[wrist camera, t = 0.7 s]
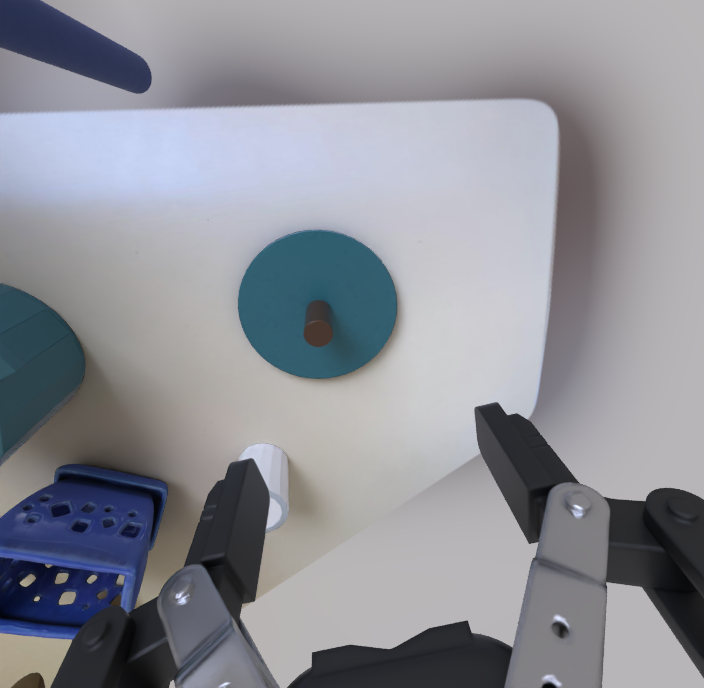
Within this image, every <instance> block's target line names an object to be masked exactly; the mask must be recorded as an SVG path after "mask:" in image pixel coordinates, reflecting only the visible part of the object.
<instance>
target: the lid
mask: <svg viewBox="0 0 704 688" xmlns="http://www.w3.org/2000/svg"><path fill="white" fill-rule="evenodd" d="M238 311H239V317H240V321H241V325H242V328H243V330H244V332H245V335H246V337H247V338H248V340H249V342H250V343H251V345H252V346H253V347H254V349H255V350H256V351H257V352H258V353H259V354H260V355H261V356H262V357H263V358H264V359H265V360H266V361H268V362H269V363H271V364H272V365H273V366H275V367H277V368H279V369H280V370H283V371H285V372H287V373H290V374H293V375H296V376H300V377H306V378H316V379H320V378H331V377H337V376H341V375H345V374H347V373H350V372H352V371H354V370H356V369H358V368H360V367H362V366H363V365H365V364H366V363H368V362H369V361H370V360H371V359H372V358H374V357H375V356H376V355H377V354H378V353H379V351H380V350H381V349H382V348H383V346H384V345H385V343H386V342H387V340H388V338H389V336H390V334H391V332H392V330H393V327H394V324H395V319H396V312H397V299H396V292H395V288H394V284H393V282H392V279H391V276H390V274H389V273H388V271H387V269H386V267H385V266H384V264H383V263H382V261H381V260H380V259H379V258H378V257H377V255H376V254H375V253H374V252H373V251H372V250H370V249H369V248H368V247H367V246H365V245H364V244H363V243H361V242H359V241H357V240H356V239H354V238H352V237H349V236H347V235H344V234H341V233H337V232H334V231H327V230H306V231H299V232H296V233H292V234H289V235H286V236H284V237H282V238H279V239H277V240H276V241H274V242H273V243H271V244H269V245H268V246H267V247H266V248H264V249H263V250H262V251H261V252H260V253H259V254H258V255H257V256H256V257H255V259H254V260H253V261H252V263H251V264H250V266H249V267H248V269H247V270H246V273H245V275H244V277H243V279H242V282H241V286H240V290H239V297H238Z"/></svg>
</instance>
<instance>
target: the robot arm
mask: <svg viewBox="0 0 704 688" xmlns="http://www.w3.org/2000/svg"><path fill="white" fill-rule="evenodd" d="M475 421H476V431H477V441H478V445H479V449H480V452H481V454H482V456H483V459H484V460H485V462H486V464H487V466H488V468H489V470H490V471H491V474H492V475H493V477H494V479H495V481H496V483H497V485H498V486H499V488H500V490H501V492H502V494H503V496H504V498H505V500H506V502H507V503H508V505H509V507H510V509H511V511H512V513H513V515H514V516H515V518H516V520H517V522H518V524H519V526H520V528H521V530H522V531H523V533H524V535H525V537H526V539H527V541H528V543H529V544H531V543H536V542H539V543H538V548H537V553H536V556H535V558H533V560H532V563H531V566H530V571H529V576H528V580H527V585H526V590H525V594H524V599H523V603H522V608H521V613H520V617H519V622H518V627H517V631H516V636H515V641H514V645H513V648H512V647H510V646H509V645H507V644H505V643H503V642H501V641H499V640H497V639H494V638H491V637H489V636H485V635H481V634H474V633H471V630H470V627H469V624H468V621H463V622H458V623H453V624H448V625H444V626H438V627H433V628H429V629H427V630H425V631H424V632H422V633H420V634H418V635H416V636H415V637H413V638H411V639H409V640H407V641H406V642H404V643H402V644H400V645H399V646H397V647H395V648H392V649H381V648H373V647H364V646H356V645H346V646H342V647H336V648H332V649H327V650H322V651H317V652H313V653H312V667H311V668H309V669H307V670H306V671H305V672H303V673H302V674H301V675H299V676H298V677H297V678H296V679H295V680H294V681H293V682H292V683H291V684H290V685H289V686H288V687H287V688H602V675H603V657H604V639H605V621H606V603H607V586H606V582H610V583H617V584H625V585H632V586H640V587H642V588H643V589H644V591H645V592H646V593H647V595H648V597H649V598H650V599H651V601H652V602H653V604H654V605H655V607H656V608H657V610H658V611H659V613H660V614H661V616H662V617H663V619H664V620H665V622H666V623H667V624H668V626H669V628H670V629H671V631H672V632H673V633H674V635H675V636H676V638H677V639H678V641H679V642H680V644H681V645H682V646H683V648H684V649H685V651H686V653H687V654H688V655H689V657H690V658H691V660H692V661H693V663H694V664H695V666H696V667H697V669H698V670H699V671H700V673H701V675H702V676H703V678H704V500H703V499H701V498H700V497H698V496H696V495H694V494H692V493H689V492H686V491H684V490H680V489H674V488H660V489H656V490H654V491H652V492H651V493H649V495H648V496H647V498H646V501H632V500H631V501H630V500H617V499H610V498H606V497H603V496H602V495H601V494H599V493H598V492H597V491H595V490H594V489H592V488H590V487H588V486H586V485H583V484H580V483H579V482H578V481H577V480H576V479H575V477H574V476H573V475H572V474H571V472H570V471H569V470H568V468H567V467H566V466H565V464H564V463H563V462H562V461H561V459H560V458H559V457H558V456H557V454H556V453H555V452H554V451H553V449H552V448H551V447H550V446H549V445H548V444H547V442H546V441H545V439H544V438H543V437H542V435H540V433H539V432H538V430H537V429H536V428H535V426H534V425H533V424H532V423H531V422H530V421H529V420H527V419H525V418H524V417H522V416H521V415H519V414H517V413H516V414H512V415H507V414H506V413H505V412H504V410H503V409H502V408H501V406H500V405H499V404H498V403H497V402H495V403H491V404H486V405H482V406H478V407H475ZM269 506H270V496H269V490H268V487H267V485H266V483H265V481H264V479H263V477H262V475H261V473H260V471H259V468H258V466H257V464H256V462H255V461H254V459H252V458H249V459H245V460H241V461H236V462H232V463H230V465H229V467H228V470H227V473H226V477H225V479H224V480H220V481H218V482H217V483H216V484H215V486H214V487H213V489H212V490H211V491H210V493H209V494H208V497H207V500H206V503H205V506H204V511H202V514H201V517H200V522H199V523H198V526H197V529H196V532H195V535H194V538H193V541H192V544H191V547H190V550H189V553H188V555H187V558H186V561H185V564H184V567H183V568H182V569H180V570H179V571H177V572H176V573H175V574H174V575H172V576H171V577H170V578H169V580H168V581H167V582H166V583H165V585H164V586H163V588H162V590H161V592H160V594H159V596H158V597H156V598H154V599H153V600H151V601H149V602H147V603H145V604H143V605H142V606H140V607H138V608H136V609H134V610H132V611H131V612H129V613H127V612H126V611H125V610H124V608H122V607H121V606H110V607H107V608H105V609H103V610H101V611H99V612H98V613H96V614H95V615H94V616H92V617H91V618H90V619H89V620H88V621H87V622H86V623H85V624H84V625H83V626H82V628H81V629H80V630H79V631H78V633H77V634H76V636H75V638H74V639H73V641H72V643H71V645H70V648H69V650H68V652H67V654H66V656H65V658H64V660H63V662H62V664H61V666H60V669H59V671H58V673H57V675H56V677H55V679H54V681H53V683H52V685H51V688H169V685H170V681H172V680H174V683H175V687H176V688H280V687H279V685H278V684H277V682H276V681H275V679H274V678H273V676H272V674H271V673H270V671H269V669H268V667H267V665H266V664H265V662H264V660H263V658H262V656H261V654H260V653H259V651H258V649H257V647H256V645H255V643H254V642H253V640H252V638H251V636H250V634H249V633H248V631H247V629H246V627H245V625H244V623H243V622H242V620H241V618H240V613H241V607H242V604H244V603H249V602H254V601H255V597H256V591H257V584H258V578H259V571H260V565H261V558H262V552H263V545H264V539H265V532H266V526H267V519H268V513H269Z"/></svg>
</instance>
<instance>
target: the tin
mask: <svg viewBox="0 0 704 688" xmlns="http://www.w3.org/2000/svg"><path fill="white" fill-rule="evenodd" d="M84 374H85V359H84V354H83V350H82V348H81V345H80V343H79V341H78V339H77V337H76V335H75V334H74V332H73V331H72V330H71V328H70V327H69V326H68V324H67V323H66V322H65V321H64V320H63V319H62V318H61V317H60V316H59V315H58V314H57V313H56V312H55V311H54V310H52V309H51V308H50V307H48V306H47V305H46V304H44V303H43V302H41V301H40V300H38V299H37V298H35V297H33V296H31V295H29V294H27V293H25V292H23V291H21V290H18V289H16V288H13V287H10V286H7V285H4V284H0V466H1V465H2V464H3V463H4V462H5V461H6V460H7V459H8V458H9V457H10V456H11V455H12V454H14V453H15V452H16V451H17V450H18V449H19V448H20V447H21V446H22V445H23V444H24V443H25V442H26V441H27V440H28V439H29V438H30V437H31V436H32V435H33V434H34V433H35V432H36V431H38V430H39V429H40V428H41V427H42V426H43V425H44V424H45V423H46V422H47V421H48V420H49V419H50V418H51V417H52V416H53V415H54V414H55V413H56V412H57V411H58V410H59V409H61V408H62V407H63V406H64V405H65V404H66V403H67V402H68V401H69V400H70V399H71V397H72V396H73V394H74V393H75V392H76V391H77V390H78V388H79V387H80V385H81V383H82V381H83V378H84Z"/></svg>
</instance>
